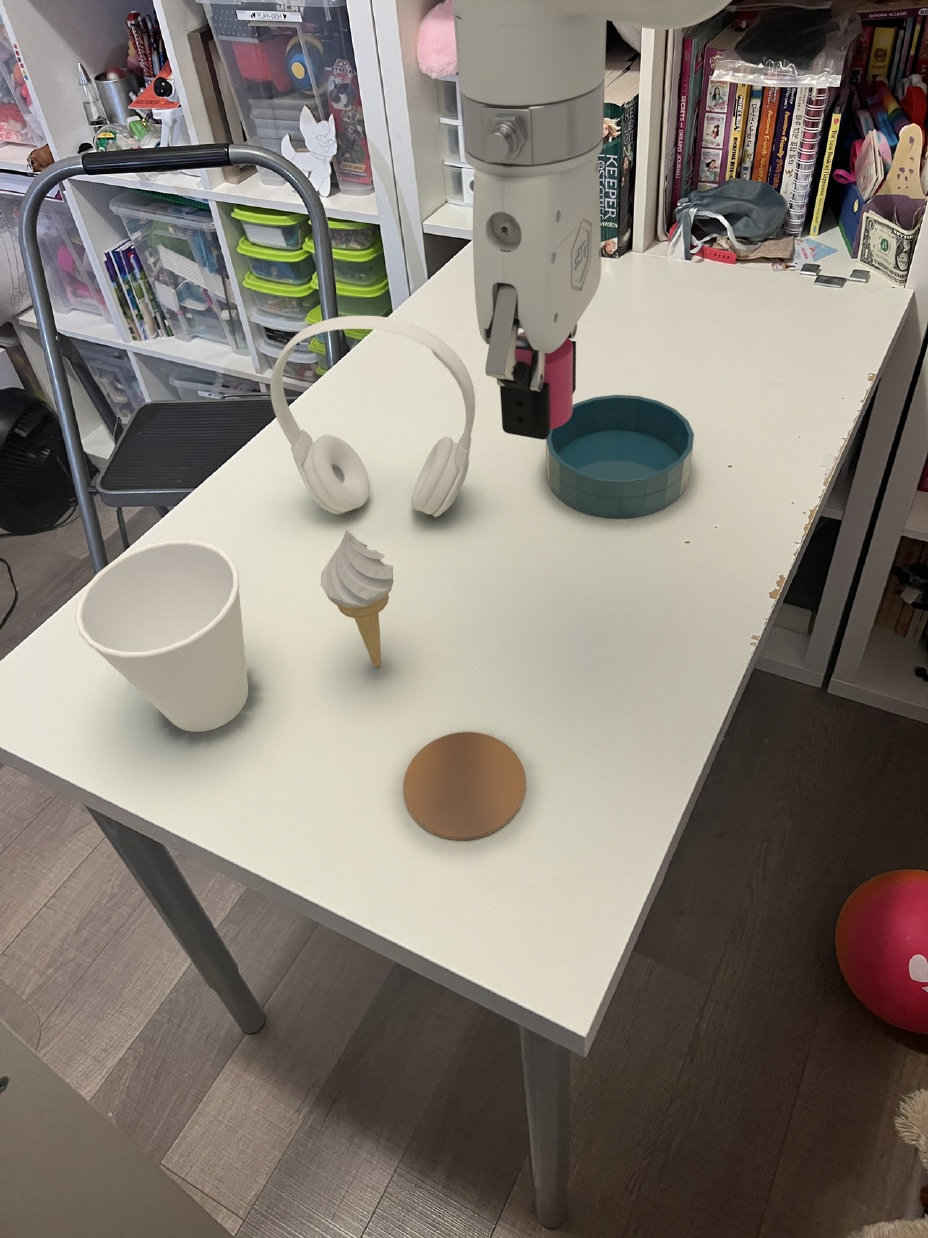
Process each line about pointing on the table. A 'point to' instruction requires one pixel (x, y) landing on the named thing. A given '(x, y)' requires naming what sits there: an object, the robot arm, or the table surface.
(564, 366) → the pink cylinder block
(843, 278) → the table surface
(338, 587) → the ice cream cone
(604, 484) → the bowl
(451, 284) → the table surface
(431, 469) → the headphones
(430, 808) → the coaster
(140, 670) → the cup
